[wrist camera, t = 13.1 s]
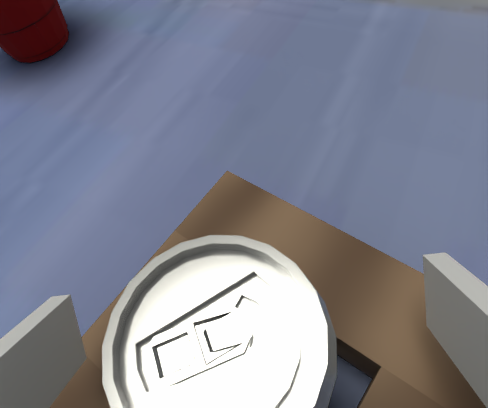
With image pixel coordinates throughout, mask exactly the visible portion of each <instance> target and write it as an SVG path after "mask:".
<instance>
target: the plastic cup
mask: <svg viewBox="0 0 488 408" xmlns="http://www.w3.org/2000/svg"><path fill="white" fill-rule="evenodd" d="M68 35H69V32H68V29H67V24H66V21H65V19H64V16H63V14H62V11H61V9H60V6H59V4H58V1H57V0H0V47H1V48H2V49H3V50H4V51H5V52H6V53H7V54H8V55H10V56H12V57H13V58H14V59H15V60H17V61H19V62H28V63H31V62H35V61H40V60H43V59H45V58H47V57H49V56H51V55H53V54H55V53H56V52H57V51H58V50H60V49H61V48H62V47H63V46H64V44H65V43H66V42H67V40H68Z"/></svg>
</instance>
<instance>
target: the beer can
mask: <svg viewBox="0 0 488 408" xmlns="http://www.w3.org/2000/svg"><path fill="white" fill-rule="evenodd" d="M336 378H337V344H336V334H335V331H334V328H333V325H332V322H331V319H330V316H329V313H328V310H327V307H326V304H325V301H324V300H323V299H322V297H321V296H320V295H319V293H318V292H317V291H316V289H315V288H314V286H313V285H312V284H311V282H310V281H309V280H308V278H307V277H306V276H305V274H304V273H303V272H302V271H301V270H300V268H299V267H298V266H297V264H296V263H294V262H293V261H292V260H290V259H289V258H287V257H286V256H285V255H283V254H282V253H280V252H279V251H278V250H276V249H275V248H274V247H272V246H271V245H268V244H265V243H262V242H259V241H256V240H253V239H250V238H247V237H244V236H236V235H208V236H205V237H201V238H197V239H193V240H189V241H186V242H182V243H179V244H178V245H176V246H174V247H172V248H171V249H169V250H167V251H166V252H164V253H162V254H160V255H159V256H157V257H155V258H153V259H152V260H151V261H150V262H149V263H148V264H147V265H146V266H145V267H144V268H143V269H142V270H141V271H140V272H139V273H138V274H137V275H136V276H135V277H134V278H133V279H132V280H131V281H130V282H129V283H128V285H127V287H126V289H125V290H124V292H123V294H122V295H121V297H120V299H119V300H118V302H117V304H116V305H115V307H114V309H113V311H112V312H111V316H110V320H109V323H108V327H107V331H106V334H105V338H104V341H103V345H102V384H103V387H104V390H105V393H106V396H107V399H108V402H109V405H110V408H328V406H329V402H330V399H331V395H332V392H333V388H334V385H335V381H336Z"/></svg>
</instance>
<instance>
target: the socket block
mask: <svg viewBox="0 0 488 408" xmlns="http://www.w3.org/2000/svg"><path fill="white" fill-rule="evenodd" d="M208 235H236V236H244V237H247V238H250V239H253V240H256V241H259V242H262V243H265V244H268V245H271V246H272V247H274V248H275V249H276V250H278V251H279V252H280V253H282V254H283V255H285V256H286V257H287V258H289V259H290V260H292V261H293V262H294V263H296V264H297V266H298V267H299V268H300V270H301V271H302V272H303V273H304V274H305V276H306V277H307V278H308V280H309V281H310V282H311V284H312V285H313V286H314V288H315V289H316V291H317V292H318V293H319V295H320V296H321V297H322V299H323V300H324V301H325V304H326V307H327V310H328V313H329V316H330V319H331V322H332V325H333V328H334V331H335V334H336V344H337V355H339V356H340V357H341V358H343V359H344V360H346V361H347V362H349V363H350V364H352V365H353V366H355V367H356V368H358V369H359V370H361V371H362V372H364V373H365V374H367V375H368V376H370V377H371V378H373V379H372V380H371V382H370V384H369V386H368V388H367V390H366V391H365V393H364V395H363V397H362V399H361V401H360V402H359V404H358V406H357V408H486V406H485V405H484V403H483V402H482V401H481V399H480V398H479V397H478V395H477V394H476V393H475V391H474V390H473V388H472V387H471V386H470V384H469V383H468V382H467V380H466V379H465V378H464V376H463V375H462V373H461V372H460V371H459V369H458V368H457V367H456V365H455V364H454V362H453V361H452V360H451V358H450V357H449V356H448V354H447V353H446V352H445V350H444V349H443V347H442V346H441V345H440V343H439V342H438V341H437V339H436V338H435V337H434V335H433V334H432V332H431V331H430V330H429V328H428V327H427V322H426V304H425V286H424V274H423V273H421V272H419V271H417V270H415V269H413V268H411V267H409V266H407V265H406V264H404V263H402V262H400V261H398V260H396V259H394V258H392V257H390V256H388V255H387V254H385V253H383V252H381V251H379V250H377V249H375V248H373V247H371V246H369V245H367V244H366V243H364V242H362V241H360V240H358V239H356V238H354V237H352V236H350V235H348V234H347V233H345V232H343V231H341V230H339V229H337V228H335V227H333V226H331V225H329V224H328V223H326V222H324V221H322V220H320V219H318V218H316V217H314V216H312V215H310V214H309V213H307V212H305V211H303V210H301V209H299V208H297V207H295V206H293V205H291V204H289V203H288V202H286V201H284V200H282V199H280V198H278V197H276V196H274V195H272V194H270V193H269V192H267V191H265V190H263V189H261V188H259V187H257V186H255V185H253V184H251V183H250V182H248V181H246V180H244V179H242V178H240V177H238V176H236V175H234V174H232V173H231V172H229V171H226V172H225V174H224V175H223V176H222V177H221V178H220V179H219V180H218V182H217V183H216V184H215V185H214V186H213V187H212V189H211V190H210V191H209V192H208V193H207V194H206V195H205V197H204V198H203V199H202V200H201V201H200V202H199V203H198V205H197V206H196V207H195V208H194V209H193V210H192V211H191V213H190V214H189V215H188V216H187V217H186V218H185V219H184V221H183V222H182V223H181V224H180V225H179V226H178V227H177V229H176V230H175V231H174V232H173V233H172V234H171V235H170V237H169V238H168V239H167V240H166V241H165V242H164V243H163V245H162V246H161V247H160V248H159V249H158V250H157V252H156V253H155V254H154V255H153V256H152V257H151V258H150V260H149V261H148V262H147V263H146V264H145V265H144V266H143V268H144V267H145V266H146V265H147V264H148V263H149V262H150V261H151V260H152V259H153V258H155V257H157V256H159V255H160V254H162V253H164V252H166V251H167V250H169V249H171V248H172V247H174V246H176V245H178V244H179V243H182V242H186V241H189V240H193V239H197V238H201V237H205V236H208ZM143 268H142V269H143ZM142 269H141V270H142ZM141 270H140V271H141ZM140 271H139V272H140ZM139 272H138V273H139ZM138 273H137V274H138ZM137 274H136V275H137ZM126 287H127V286H126ZM126 287H125V288H124V289H123V290H122V292H121V293H120V294H119V295H118V296H117V297H116V298H115V300H114V301H113V302H112V303H111V304H110V305H109V306H108V308H107V309H106V310H105V311H104V312H103V313H102V315H101V316H100V317H99V318H98V319H97V320H96V321H95V323H94V324H93V325H92V326H91V327H90V328H89V329H88V331H87V332H86V333H85V334H84V335H83V336H82V337H81V338H82V342H83V346H84V350H85V353H86V357H87V359H86V360H85V361H84V363H83V364H82V365H81V366H80V368H79V369H78V370H77V372H76V373H75V374H74V376H73V377H72V378H71V380H70V381H69V382H68V384H67V385H66V386H65V388H64V389H63V390H62V392H61V393H60V394H59V395H58V397H57V398H56V399H55V401H54V402H53V403H52V405H51V406H50V407H49V408H110V405H109V402H108V399H107V396H106V393H105V390H104V387H103V384H102V345H103V341H104V338H105V334H106V331H107V327H108V323H109V320H110V316H111V312H112V311H113V309H114V307H115V305H116V304H117V302H118V300H119V299H120V297H121V295H122V294H123V292H124V290H125V289H126Z"/></svg>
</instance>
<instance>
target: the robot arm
mask: <svg viewBox="0 0 488 408" xmlns="http://www.w3.org/2000/svg"><path fill="white" fill-rule="evenodd" d="M423 268H424V286H425V304H426V322H427V327H428V328H429V330H430V331H431V332H432V334H433V335H434V337H435V338H436V339H437V341H438V342H439V343H440V345H441V346H442V347H443V349H444V350H445V352H446V353H447V354H448V356H449V357H450V358H451V360H452V361H453V362H454V364H455V365H456V367H457V368H458V369H459V371H460V372H461V373H462V375H463V376H464V378H465V379H466V380H467V382H468V383H469V384H470V386H471V387H472V388H473V390H474V391H475V393H476V394H477V395H478V397H479V398H480V399H481V401H482V402H483V403H484V405H485V406H486V408H488V286H487V285H485V284H484V283H483V282H482V281H480V280H479V279H478V278H477V277H475V276H474V275H473V274H472V273H470V272H469V271H468V270H467V269H465V268H464V267H463V266H462V265H460V264H459V263H458V262H457V261H455V260H454V259H453V258H452V257H450V256H449V255H448V254H447V253H437V254H428V255H423ZM86 359H87V357H86V353H85V350H84V346H83V342H82V338H81V334H80V330H79V326H78V322H77V319H76V315H75V311H74V307H73V303H72V299H71V295H62V296H53V297H51V298H49V299H48V300H47V301H46V302H45V303H43V304H42V305H41V306H40V307H39V308H37V309H36V310H35V311H34V312H33V313H31V314H30V315H29V316H28V317H26V318H25V319H24V320H23V321H22V322H20V323H19V324H18V325H17V326H16V327H14V328H13V329H12V330H11V331H10V332H8V333H7V334H6V335H5V336H4V337H2V338H1V339H0V408H49V407H50V406H51V405H52V403H53V402H54V401H55V399H56V398H57V397H58V395H59V394H60V393H61V392H62V390H63V389H64V388H65V386H66V385H67V384H68V382H69V381H70V380H71V378H72V377H73V376H74V374H75V373H76V372H77V370H78V369H79V368H80V366H81V365H82V364H83V363H84V361H85V360H86Z"/></svg>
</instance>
